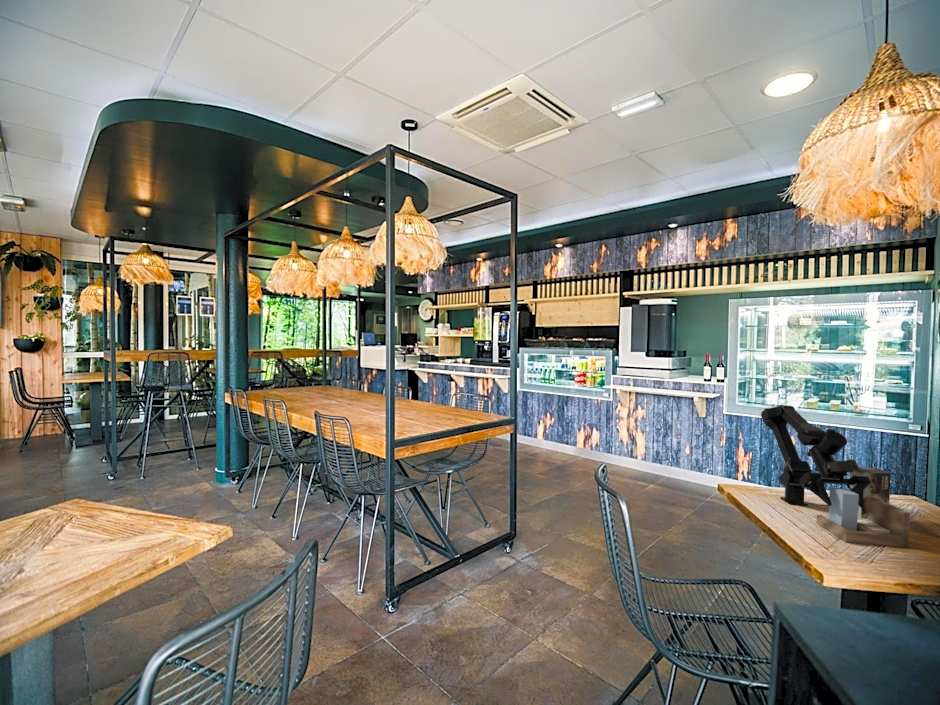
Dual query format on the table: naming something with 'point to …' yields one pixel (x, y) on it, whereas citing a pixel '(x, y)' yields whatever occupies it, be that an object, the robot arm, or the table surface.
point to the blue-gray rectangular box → (844, 508)
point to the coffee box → (873, 487)
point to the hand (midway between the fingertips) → (846, 506)
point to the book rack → (874, 526)
